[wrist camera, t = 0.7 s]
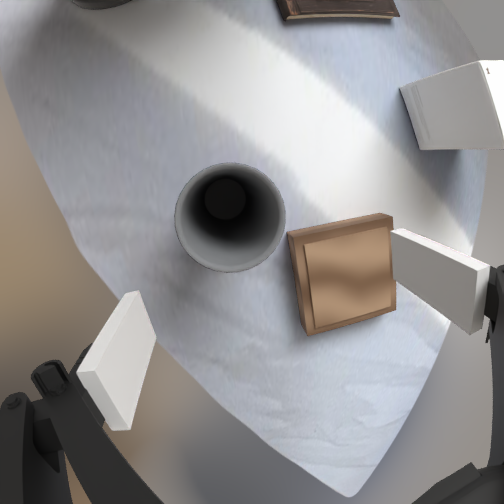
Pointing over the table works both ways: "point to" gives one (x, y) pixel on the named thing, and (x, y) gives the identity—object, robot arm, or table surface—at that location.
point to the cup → (230, 217)
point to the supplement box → (459, 107)
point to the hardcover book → (337, 8)
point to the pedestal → (343, 272)
